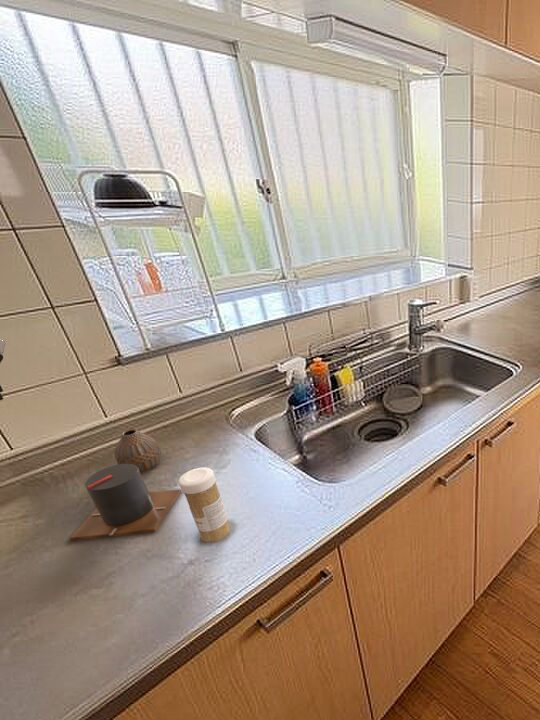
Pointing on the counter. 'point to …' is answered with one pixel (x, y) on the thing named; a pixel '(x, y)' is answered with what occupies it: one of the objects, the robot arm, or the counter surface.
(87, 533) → the wooden board
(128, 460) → the vase
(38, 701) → the counter surface
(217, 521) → the sprinkles bottle
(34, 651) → the counter surface
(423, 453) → the counter surface
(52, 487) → the counter surface
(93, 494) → the knob
